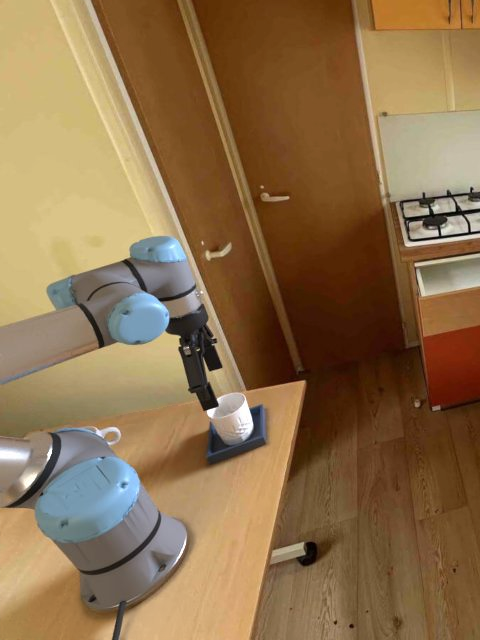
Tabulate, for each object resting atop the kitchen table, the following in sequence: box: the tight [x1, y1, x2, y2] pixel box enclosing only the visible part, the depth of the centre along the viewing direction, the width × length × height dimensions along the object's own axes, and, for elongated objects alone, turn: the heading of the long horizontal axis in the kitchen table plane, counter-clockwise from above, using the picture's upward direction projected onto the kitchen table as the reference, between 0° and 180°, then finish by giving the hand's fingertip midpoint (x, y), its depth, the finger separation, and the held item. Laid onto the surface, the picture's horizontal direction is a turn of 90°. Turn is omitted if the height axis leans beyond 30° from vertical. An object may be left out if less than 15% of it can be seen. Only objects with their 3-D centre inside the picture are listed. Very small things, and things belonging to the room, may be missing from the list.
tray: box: [205, 403, 267, 465], centre depth 103 cm, size 12×12×2 cm
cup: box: [80, 425, 122, 448], centre depth 96 cm, size 11×8×8 cm
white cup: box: [206, 392, 254, 446], centre depth 101 cm, size 8×8×10 cm
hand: (213, 387), depth 95 cm, fingers open, 13 cm apart
